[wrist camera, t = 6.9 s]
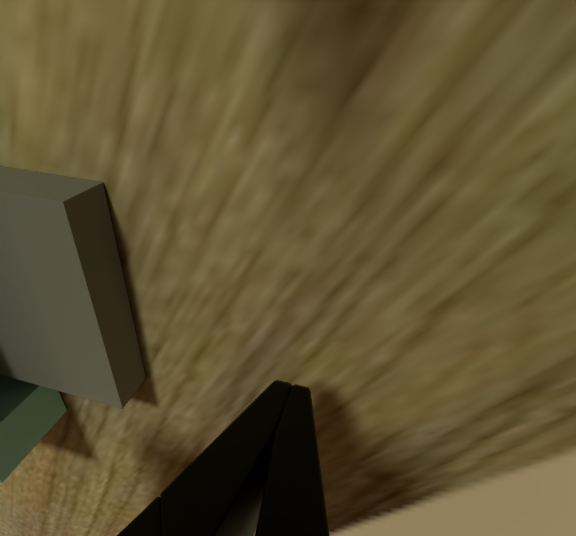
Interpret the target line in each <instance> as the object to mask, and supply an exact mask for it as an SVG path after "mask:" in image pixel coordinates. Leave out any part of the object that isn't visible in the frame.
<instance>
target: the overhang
mask: <svg viewBox="0 0 576 536" xmlns="http://www.w3.org/2000/svg"><path fill="white" fill-rule="evenodd" d="M66 411H67V409H66V407H65V405H64V402H63V400H62V398H61V395H60V393H59V391H57V390H54V389H50V388H47V387H43V386H39V385H36V384H32V383H29V382H25V381H22V380H18V379H14V378H11V377H7V376H4V375H0V482H1V483H2V482H3V481H4V480H5V479H6V478H7V477H8V476H9V475H10V474H11V472H12V471H13V470H14V469H15V468H16V467H17V466H18V465H19V464H20V462H21V461H22V460H23V459H24V458H25V457H26V456H27V455H28V454H29V452H30V451H31V450H32V449H33V448H34V447H35V446H36V445H37V443H38V442H39V441H40V440H41V439H42V438H43V437H44V436H45V435H46V433H47V432H48V431H49V430H50V429H51V428H52V427H53V426H54V425H55V423H56V422H57V421H58V420H59V419H60V418H61V417H62V416H63V415H64V413H65V412H66Z"/></svg>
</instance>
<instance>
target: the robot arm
mask: <svg viewBox="0 0 576 536" xmlns="http://www.w3.org/2000/svg"><path fill="white" fill-rule="evenodd" d="M257 522H258V523H257ZM256 525H257V529H256V534H255V536H329V530H328V522H327V514H326V507H325V499H324V491H323V483H322V476H321V468H320V460H319V453H318V445H317V437H316V430H315V422H314V414H313V407H312V399H311V391H310V389H309V388H308V387H305V386H300V385H296V384H295V385H293V386H292V384H291V383H288V382H284V381H279V380H276V381H274V382H273V383H272V384H271V385H270V386H269V387H268V388H267V389H265V390H264V391H263V392H262V393H261V394H260V395H259V396H258V397H257V398H256V399H255V400H254V401H253V402H252V403H251V404H250V405H249V406H248V407H247V408H246V409H245V410H244V411H243V412H242V413H241V414H240V415H239V416H238V417H237V418H236V419H235V420H234V421H233V422H232V423H231V424H230V425H229V426H228V427H227V428H226V429H225V430H224V431H223V432H222V433H221V434H220V435H219V436H218V437H217V438H216V439H215V440H214V441H213V442H212V443H211V444H210V445H209V446H208V447H207V448H206V449H205V450H204V451H203V452H202V453H201V454H200V455H199V456H198V457H197V458H196V459H195V460H194V461H193V462H192V463H191V464H190V465H189V466H188V467H187V468H186V469H185V470H184V471H183V472H182V473H181V474H180V475H179V476H178V477H177V478H176V479H175V480H174V481H173V482H172V483H171V484H170V485H169V486H168V487H167V488H166V489H165V490H164V491H163V492H162V493H161V495H160V497H156V498H155V499H154V500H153V501H152V502H151V503H150V504H149V505H148V506H147V507H146V508H145V509H144V510H143V511H142V512H141V513H140V514H139V515H138V516H137V517H136V518H135V519H134V520H133V521H132V522H131V523H130V524H129V525H128V526H127V527H125V528H124V529H123V530H122V531H121V532H120V533H119V534H118V535H117V536H253V533H254V530H255V528H256Z"/></svg>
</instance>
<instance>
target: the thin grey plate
mask: <svg viewBox="0 0 576 536" xmlns="http://www.w3.org/2000/svg"><path fill="white" fill-rule="evenodd" d="M0 375H4V376H7V377H11V378H14V379H18V380H22V381H25V382H29V383H32V384H36V385H39V386H43V387H47V388H50V389H54V390H57V391H61V392H64V393H68V394H71V395H75V396H79V397H82V398H86V399H89V400H93V401H96V402H100V403H104V404H107V405H111V406H114V407H118V408H121V409H123V407H124V406H125V405H126V403H127V402H128V401H129V399H130V398H131V397H132V395H133V394H134V393H135V392H136V390H137V389H138V388H139V386H140V385H141V384H142V382H143V381H144V380H145V378H146V376H145V372H144V367H143V362H142V358H141V353H140V349H139V344H138V340H137V335H136V331H135V326H134V322H133V317H132V312H131V308H130V303H129V299H128V294H127V290H126V285H125V281H124V276H123V271H122V267H121V262H120V258H119V253H118V249H117V244H116V240H115V235H114V231H113V226H112V221H111V217H110V212H109V208H108V203H107V199H106V194H105V190H104V185H103V182H98V181H91V180H85V179H78V178H72V177H66V176H59V175H53V174H46V173H40V172H34V171H27V170H21V169H14V168H8V167H1V166H0Z"/></svg>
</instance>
